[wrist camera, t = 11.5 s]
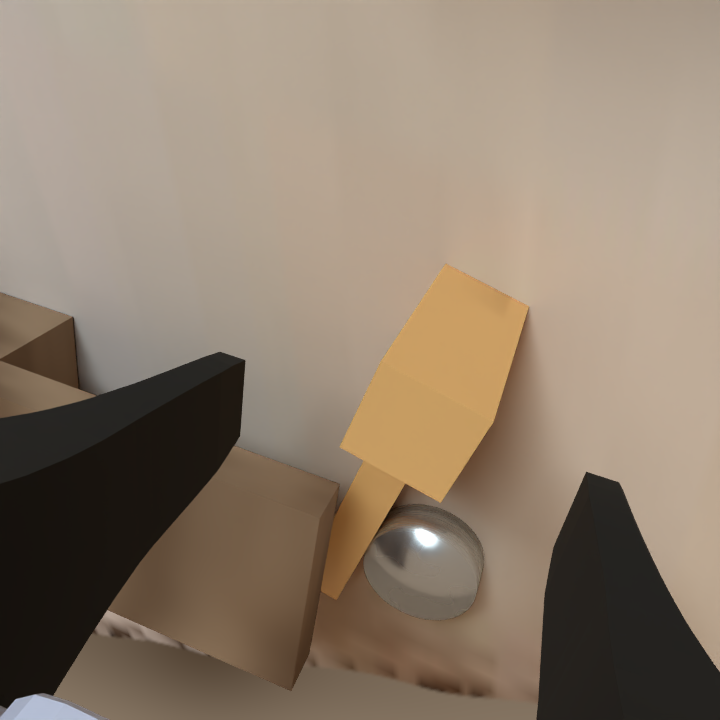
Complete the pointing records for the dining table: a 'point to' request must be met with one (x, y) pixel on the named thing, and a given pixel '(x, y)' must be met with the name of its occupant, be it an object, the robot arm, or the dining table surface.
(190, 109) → the dining table surface
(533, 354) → the dining table surface
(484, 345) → the light wooden mallet
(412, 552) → the steel puck
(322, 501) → the walnut l-shaped block
